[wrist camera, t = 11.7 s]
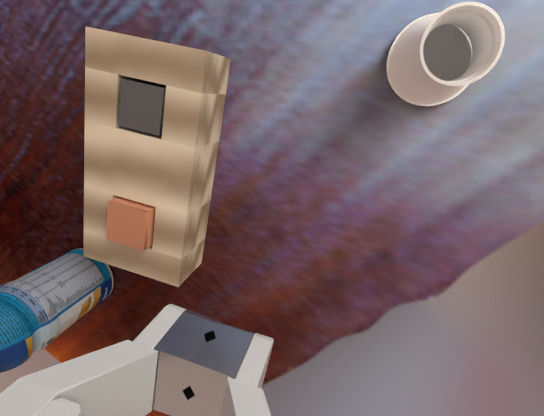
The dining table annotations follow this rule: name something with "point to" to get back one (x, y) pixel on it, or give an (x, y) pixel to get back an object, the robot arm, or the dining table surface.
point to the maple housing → (152, 150)
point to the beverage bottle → (48, 304)
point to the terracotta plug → (130, 223)
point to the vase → (444, 53)
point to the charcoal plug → (142, 105)
